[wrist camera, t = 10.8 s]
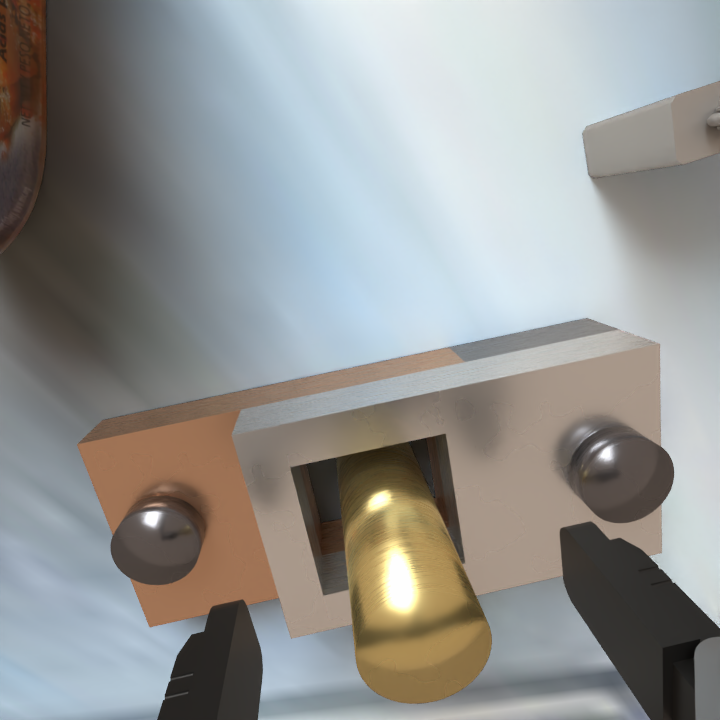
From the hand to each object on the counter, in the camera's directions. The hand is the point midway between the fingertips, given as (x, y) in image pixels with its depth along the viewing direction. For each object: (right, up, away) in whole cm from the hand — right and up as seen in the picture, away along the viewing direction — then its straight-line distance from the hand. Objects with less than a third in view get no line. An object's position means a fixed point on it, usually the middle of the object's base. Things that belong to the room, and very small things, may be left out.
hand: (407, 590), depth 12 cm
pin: (-1, +2, +7) cm, 7 cm away
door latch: (-1, +2, +7) cm, 7 cm away
